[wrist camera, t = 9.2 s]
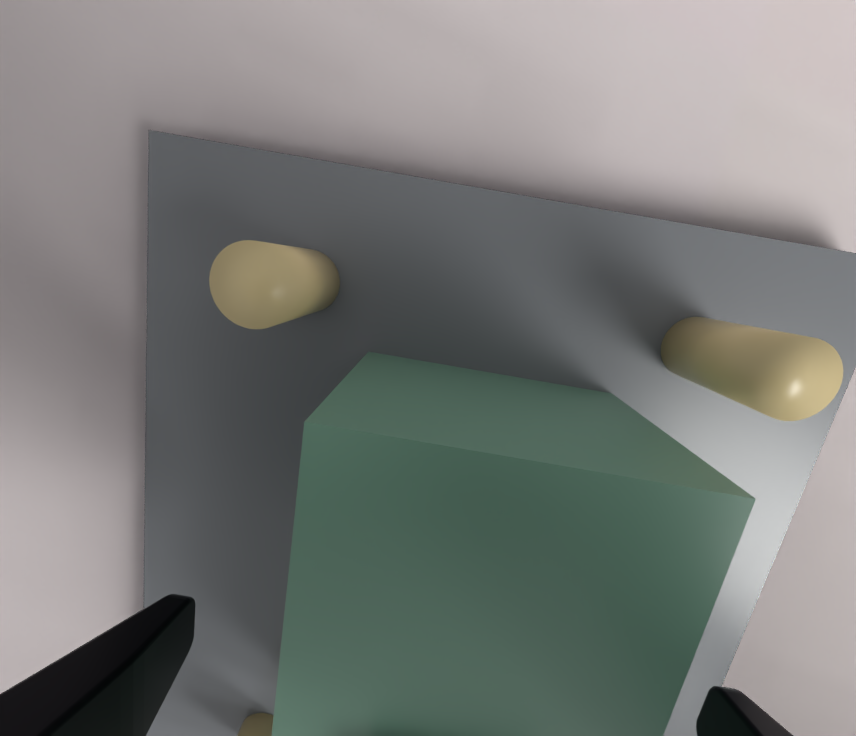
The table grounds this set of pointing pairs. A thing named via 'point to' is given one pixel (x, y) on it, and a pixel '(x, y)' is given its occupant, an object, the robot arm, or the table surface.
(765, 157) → the table surface
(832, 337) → the chassis
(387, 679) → the circuit board module
